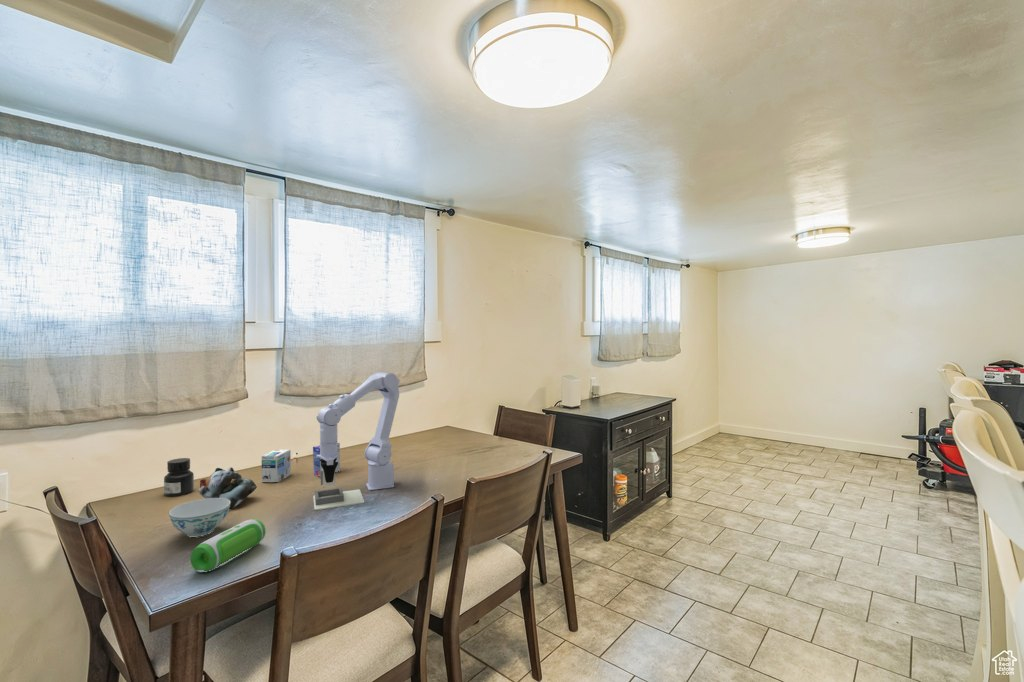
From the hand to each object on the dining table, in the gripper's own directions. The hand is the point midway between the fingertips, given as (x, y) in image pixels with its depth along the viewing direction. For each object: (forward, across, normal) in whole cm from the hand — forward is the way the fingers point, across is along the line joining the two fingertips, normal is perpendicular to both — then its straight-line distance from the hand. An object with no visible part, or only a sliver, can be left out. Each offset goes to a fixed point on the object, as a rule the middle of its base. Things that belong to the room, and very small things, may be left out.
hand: (328, 480), depth 161 cm
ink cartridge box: (+7, -34, +1) cm, 35 cm away
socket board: (+7, +1, +3) cm, 8 cm away
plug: (+2, 0, 0) cm, 2 cm away
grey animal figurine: (+8, -11, -32) cm, 34 cm away
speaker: (+8, +33, -26) cm, 43 cm away
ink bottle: (+8, -32, -50) cm, 60 cm away
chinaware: (+8, +12, -36) cm, 39 cm away
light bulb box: (+8, -35, -18) cm, 40 cm away
